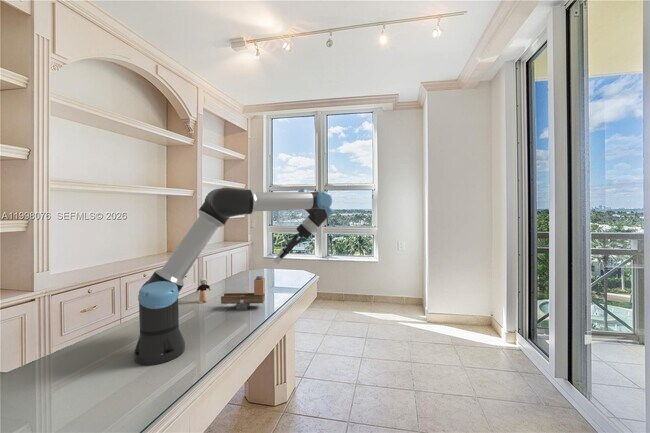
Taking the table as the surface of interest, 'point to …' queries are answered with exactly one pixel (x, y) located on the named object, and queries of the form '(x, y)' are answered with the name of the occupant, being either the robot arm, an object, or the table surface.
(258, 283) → the rider
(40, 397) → the table surface
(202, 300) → the grandmother figurine
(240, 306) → the beam
